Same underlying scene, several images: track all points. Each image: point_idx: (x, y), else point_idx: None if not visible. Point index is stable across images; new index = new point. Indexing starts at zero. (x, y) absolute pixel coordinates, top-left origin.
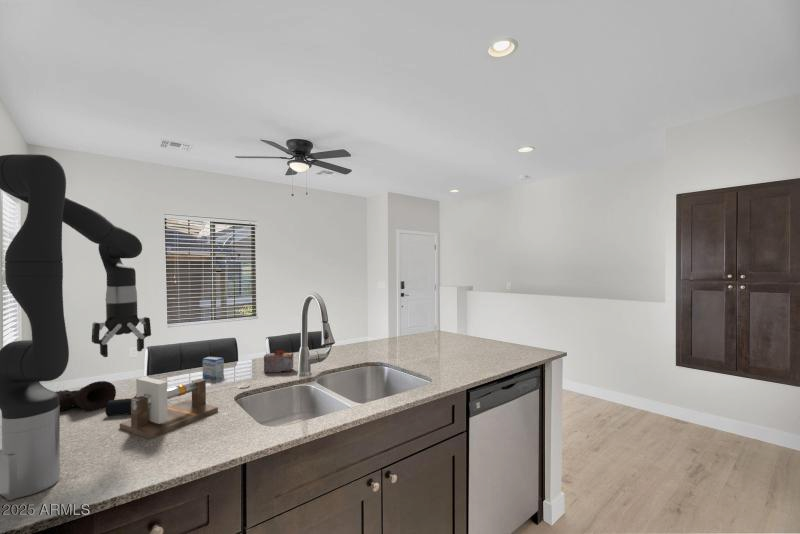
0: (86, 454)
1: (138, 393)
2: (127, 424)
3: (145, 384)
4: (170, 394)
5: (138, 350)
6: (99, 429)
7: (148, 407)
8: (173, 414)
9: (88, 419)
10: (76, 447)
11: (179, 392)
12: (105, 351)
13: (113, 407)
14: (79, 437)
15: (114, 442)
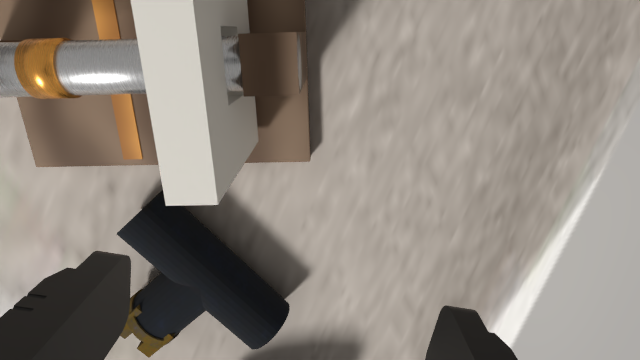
0: (475, 22)
1: (235, 154)
2: (300, 121)
3: (211, 94)
4: (118, 40)
5: (125, 282)
6: (350, 206)
7: None
8: None
9: (327, 320)
10: (458, 118)
11: (68, 41)
12: (492, 350)
13: (269, 299)
14: (412, 195)
15: (381, 37)
